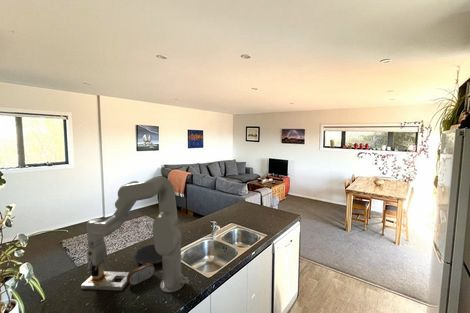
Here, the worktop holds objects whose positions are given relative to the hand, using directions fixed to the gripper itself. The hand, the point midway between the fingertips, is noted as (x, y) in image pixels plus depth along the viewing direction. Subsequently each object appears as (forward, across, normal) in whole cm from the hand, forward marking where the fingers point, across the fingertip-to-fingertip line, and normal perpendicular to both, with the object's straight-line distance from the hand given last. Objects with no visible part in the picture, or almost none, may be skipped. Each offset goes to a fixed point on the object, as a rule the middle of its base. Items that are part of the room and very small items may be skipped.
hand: (97, 273), depth 123 cm
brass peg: (+3, 0, 0) cm, 3 cm away
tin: (+5, +2, -24) cm, 24 cm away
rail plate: (+5, 0, -6) cm, 8 cm away
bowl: (+5, +23, -21) cm, 31 cm away
